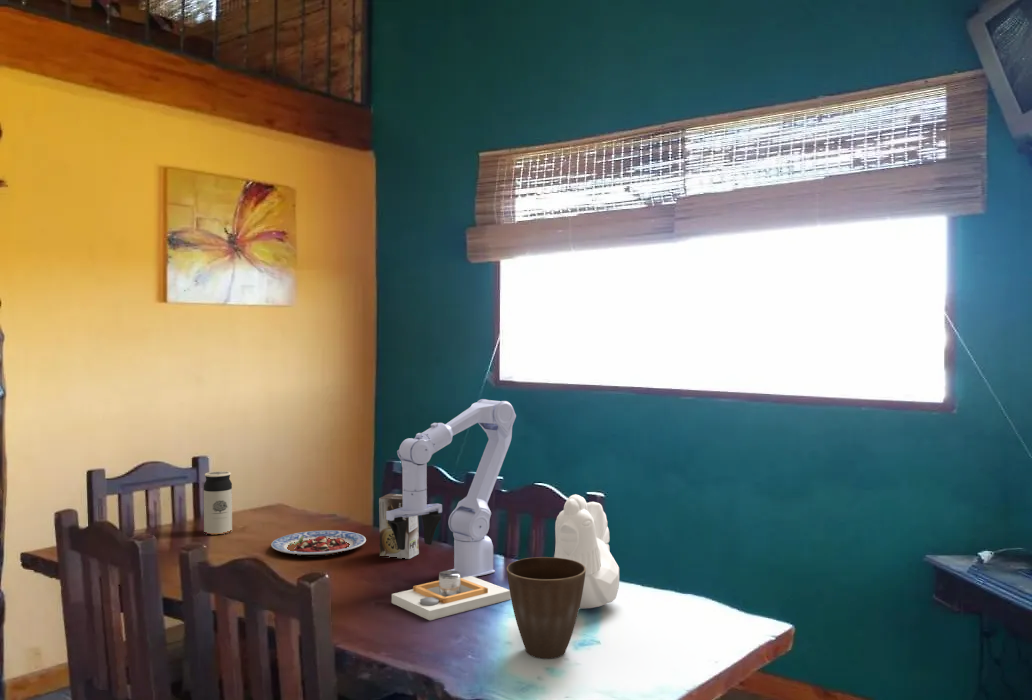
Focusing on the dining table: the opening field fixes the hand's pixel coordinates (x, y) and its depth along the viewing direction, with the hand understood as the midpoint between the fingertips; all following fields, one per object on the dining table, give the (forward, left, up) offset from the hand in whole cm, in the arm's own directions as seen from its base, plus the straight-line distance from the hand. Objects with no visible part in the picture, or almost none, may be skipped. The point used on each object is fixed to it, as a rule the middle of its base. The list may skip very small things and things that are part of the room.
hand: (414, 546), depth 200 cm
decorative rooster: (-24, +35, -10) cm, 44 cm away
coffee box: (-12, -26, -10) cm, 30 cm away
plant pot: (+4, +51, -10) cm, 52 cm away
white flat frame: (0, +15, -9) cm, 18 cm away
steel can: (0, +14, -9) cm, 17 cm away
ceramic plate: (+1, -47, -10) cm, 48 cm away
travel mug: (+16, -83, -10) cm, 85 cm away
